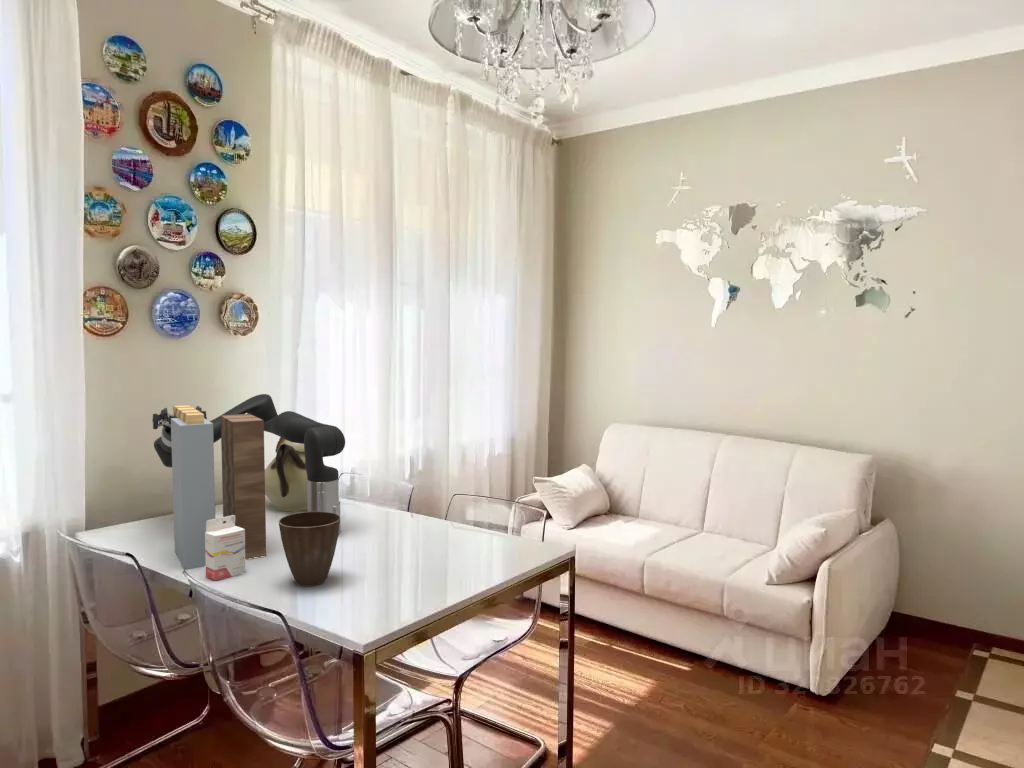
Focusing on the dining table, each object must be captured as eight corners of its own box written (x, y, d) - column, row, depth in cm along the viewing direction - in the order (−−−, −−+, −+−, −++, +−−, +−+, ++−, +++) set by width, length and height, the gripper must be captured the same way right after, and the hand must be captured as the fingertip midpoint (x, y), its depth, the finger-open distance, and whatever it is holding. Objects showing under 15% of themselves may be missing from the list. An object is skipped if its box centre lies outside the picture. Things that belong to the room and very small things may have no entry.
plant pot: (268, 580, 184) (267, 518, 183) (321, 566, 195) (320, 507, 193) (298, 596, 174) (297, 531, 172) (352, 581, 184) (352, 519, 183)
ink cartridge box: (215, 581, 183) (213, 524, 182) (205, 577, 186) (203, 520, 185) (246, 572, 190) (245, 517, 188) (236, 568, 193) (235, 513, 192)
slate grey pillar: (174, 552, 205) (170, 418, 202) (205, 548, 209) (201, 416, 206) (184, 569, 192) (180, 425, 188) (216, 564, 196) (212, 423, 193)
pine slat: (173, 414, 210) (173, 405, 210) (188, 413, 213) (188, 404, 212) (187, 424, 190) (187, 415, 190) (204, 423, 192) (203, 414, 192)
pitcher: (312, 496, 272) (311, 429, 269) (341, 509, 253) (339, 438, 251) (252, 505, 258) (250, 435, 255) (277, 520, 240) (275, 445, 237)
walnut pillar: (223, 545, 212) (220, 415, 209) (252, 541, 216) (249, 413, 213) (236, 561, 199) (233, 422, 195) (266, 556, 203) (263, 420, 200)
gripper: (148, 421, 219) (153, 399, 206) (199, 418, 226) (207, 396, 214) (150, 444, 216) (156, 423, 204) (202, 441, 224) (210, 420, 211)
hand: (182, 409), depth 209 cm, fingers open, 8 cm apart
